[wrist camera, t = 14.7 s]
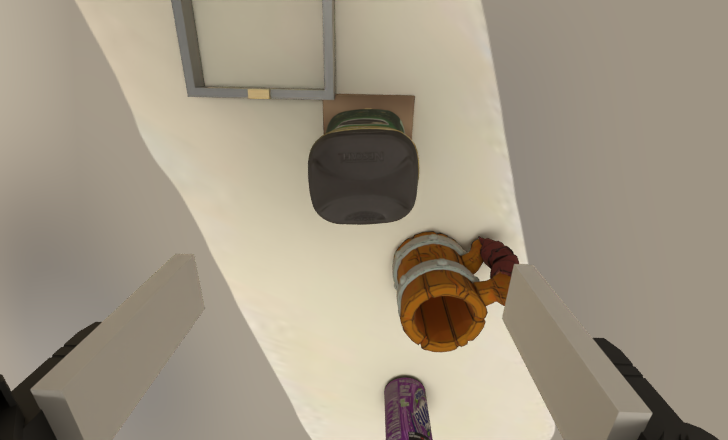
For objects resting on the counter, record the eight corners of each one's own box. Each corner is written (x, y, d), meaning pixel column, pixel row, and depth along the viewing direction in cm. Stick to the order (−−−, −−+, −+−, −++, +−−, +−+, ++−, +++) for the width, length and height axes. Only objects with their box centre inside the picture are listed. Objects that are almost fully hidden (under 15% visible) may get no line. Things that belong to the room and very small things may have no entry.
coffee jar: (330, 173, 45) (304, 236, 28) (325, 109, 42) (292, 137, 25) (405, 170, 45) (423, 232, 28) (405, 106, 42) (426, 132, 25)
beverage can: (427, 400, 63) (438, 470, 52) (388, 405, 64) (391, 475, 53) (421, 371, 60) (431, 439, 49) (380, 376, 61) (382, 445, 50)
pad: (323, 93, 42) (322, 94, 42) (414, 95, 42) (414, 96, 41) (325, 180, 47) (324, 182, 46) (407, 182, 47) (408, 184, 46)
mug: (376, 250, 51) (377, 318, 37) (483, 200, 47) (527, 253, 34) (409, 304, 55) (421, 384, 41) (510, 260, 51) (561, 332, 37)
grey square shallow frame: (169, -79, 36) (152, -92, 33) (333, -77, 36) (329, -90, 33) (197, 95, 43) (185, 97, 40) (335, 98, 43) (333, 100, 40)
